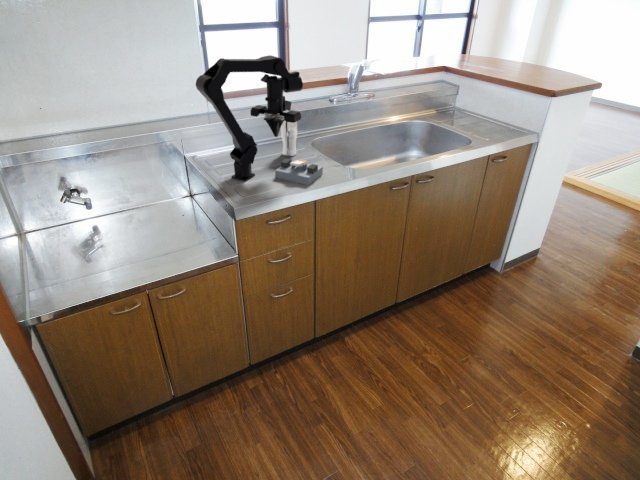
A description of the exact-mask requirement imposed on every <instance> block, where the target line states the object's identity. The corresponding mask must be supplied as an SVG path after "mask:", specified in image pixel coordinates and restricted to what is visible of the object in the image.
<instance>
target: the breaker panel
mask: <svg viewBox="0 0 640 480" xmlns="http://www.w3.org/2000/svg"><path fill="white" fill-rule="evenodd" d="M291 160H292V159H291ZM294 161H295V160H292V162H294ZM311 164H312V163H308V164H307V163H305V164H303V165H301V166H293V165H290V166H289V167H287V168H284V167H281V166H279V167H278V168H277V169H275V170H274V174H275V175H274V177H275V178H276V179H279V180H284V181H287V182H292V183H297V184H300V185H306V186H309V185H311V184H312V183H313V182H314V181H315V180H317V179H318V178H320V176H322V175H323V171H324V170H323V168H324V166H321V165H318V170H317V171H316V172H315V173H313V174H312V173H307V167H309V166H310V165H311Z"/></svg>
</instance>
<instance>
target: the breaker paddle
mask: <svg viewBox="0 0 640 480" xmlns="http://www.w3.org/2000/svg"><path fill="white" fill-rule="evenodd" d="M293 161H294V162H291V163H290V165H293V166H301V165H303V164H305V163H307V164H309V161H308V160H305V159H298V160H293Z"/></svg>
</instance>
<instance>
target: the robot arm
mask: <svg viewBox="0 0 640 480" xmlns="http://www.w3.org/2000/svg"><path fill="white" fill-rule="evenodd" d="M230 73H264V76H263V77H262V78H260V81H261V82H264V83H266V97H264V100H265V101H266V103H267V105H260V104H257V105H255V106H253V107H251V109H250V116H251V117H258V116H260V114H261V115H264V118H263V120H264V121H265V122H266V123H267V125H268V126H269V128H270V131H271V133H272V134H273V136H274V137H275V138H277V137H279V134H280V132H281V125H282V123H283V122H284V121H286V122H291V123H295V122H297V123H298V122H299V121H300V120H302V114H301V111H299V110H293V109H292V110H291V107H292V101H289V100H286V96H285V95H284V92H285V93H294V92H301V91H302V89H303V86H304V82H303V80H302V77H301V76H300V71H291V72H289V70H288V68H287V67H286V64H285V60H284V59H283V58H282V57H277V56H273V55H271V54H270V55H265V56H261V57H259V58H254V59H253V58H248V59H247V58H246V59H245V58H218V60H217V61H216V62H214V64H213V65H212V66H211V67H209V68H207V69H206V70H205V72H204V73H203V74H201V75H199V76H198V77H197V78H196V82H195V88H196V90H197V91H199V92H200V94H201V95H202V96H203V97H204V98H205V100H207V101H208V102H209V103H210V104H211V106H212V107H213V108H214V110H215V111H216V113H217V115H218V116H219V118H220V120H221V121H222V123H223V125H224V126H225V127H226V129H227V132H228V133H229V134H230V136H231V138H232V142H233V143H232V144H233V146H234V147H233V149H232V150H231V151H230V153H229V156H230V158H231V159H232V160H234V162H233V169H234V170H233V171H234V174H233V175H232V176H231V179H237V180H240V181H244V182H246V181H248V180H249V179H251V178H253V177H255V176H256V174H255V173H253V171H252V170H253V169H252V165H253V164H254V161H255V157H256V155H257V154H258V147H257V146H258V144H257V143H256V141H255V140H254V137H253V136H252V135H251V134H249V133H248V132H245V131H243V129H242V128H241V126H240V124H239V123H238V121H237V119H236V118H235V116H234V114H233V112H232V110H231V109H230V108H229V106H228V104H227V103H226V100H225V97H224V91H223V89H222V87H223V85H224V84H226V81H227V79H228V76H229V75H230ZM278 76H279V77H278ZM286 111H287V112H286Z"/></svg>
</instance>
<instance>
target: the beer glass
mask: <svg viewBox="0 0 640 480" xmlns="http://www.w3.org/2000/svg"><path fill="white" fill-rule="evenodd" d="M280 135H281V139H282V140H281V141H282V153H281V154H282V155H283V156H286V157H293V156H296V155H297V147H296V144H297V138H298V121H297V122H295V123H291V122H286V121H284V122H283V123H282V125H281V128H280Z"/></svg>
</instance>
